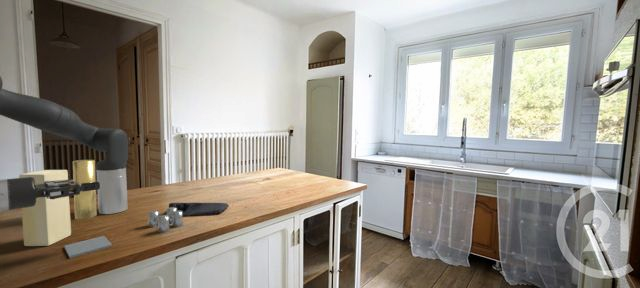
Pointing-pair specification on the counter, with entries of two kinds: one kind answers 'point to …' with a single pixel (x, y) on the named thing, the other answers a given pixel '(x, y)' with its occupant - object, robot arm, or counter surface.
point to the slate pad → (87, 246)
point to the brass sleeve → (86, 199)
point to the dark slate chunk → (199, 208)
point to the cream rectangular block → (46, 213)
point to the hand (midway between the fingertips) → (96, 183)
